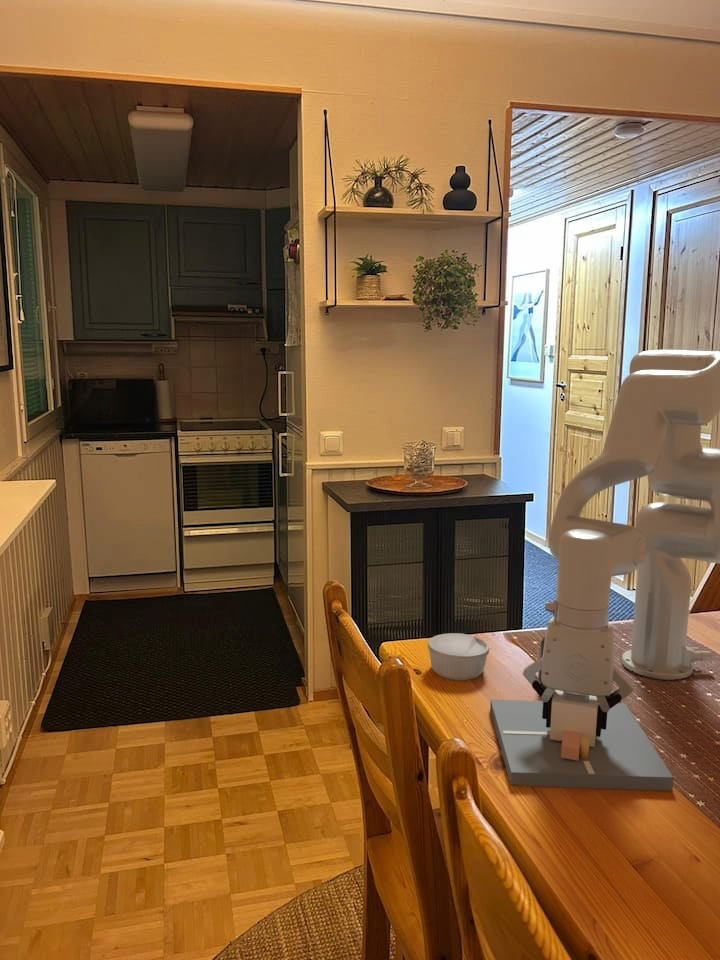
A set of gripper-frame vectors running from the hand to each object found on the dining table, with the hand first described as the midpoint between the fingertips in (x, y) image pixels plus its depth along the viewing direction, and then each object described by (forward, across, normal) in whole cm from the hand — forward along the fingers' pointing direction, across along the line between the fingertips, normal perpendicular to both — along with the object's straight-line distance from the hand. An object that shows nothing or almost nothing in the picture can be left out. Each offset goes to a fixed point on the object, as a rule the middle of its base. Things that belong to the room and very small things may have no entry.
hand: (573, 727), depth 116 cm
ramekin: (+4, -23, +21) cm, 31 cm away
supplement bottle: (+3, -4, +20) cm, 21 cm away
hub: (+1, 0, -2) cm, 2 cm away
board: (+3, 0, 0) cm, 3 cm away
